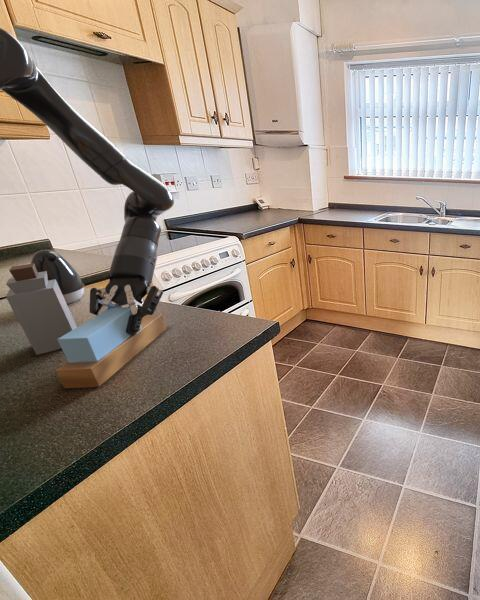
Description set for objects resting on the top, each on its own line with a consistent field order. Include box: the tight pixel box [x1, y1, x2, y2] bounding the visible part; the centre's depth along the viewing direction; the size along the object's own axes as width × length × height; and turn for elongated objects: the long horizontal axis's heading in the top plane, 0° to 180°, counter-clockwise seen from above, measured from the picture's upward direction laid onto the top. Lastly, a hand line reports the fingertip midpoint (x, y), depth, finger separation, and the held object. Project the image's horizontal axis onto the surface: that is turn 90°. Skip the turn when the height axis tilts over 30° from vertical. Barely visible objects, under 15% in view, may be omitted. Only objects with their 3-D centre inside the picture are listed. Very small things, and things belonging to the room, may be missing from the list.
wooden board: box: [55, 313, 168, 389], centre depth 70 cm, size 22×6×4 cm, turn 4°
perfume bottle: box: [5, 263, 78, 356], centre depth 72 cm, size 7×7×18 cm
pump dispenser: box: [30, 249, 85, 305], centre depth 93 cm, size 10×10×15 cm
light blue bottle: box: [57, 305, 142, 363], centre depth 68 cm, size 18×5×5 cm, turn 4°
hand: (116, 334), depth 69 cm, fingers closed on light blue bottle, 5 cm apart
